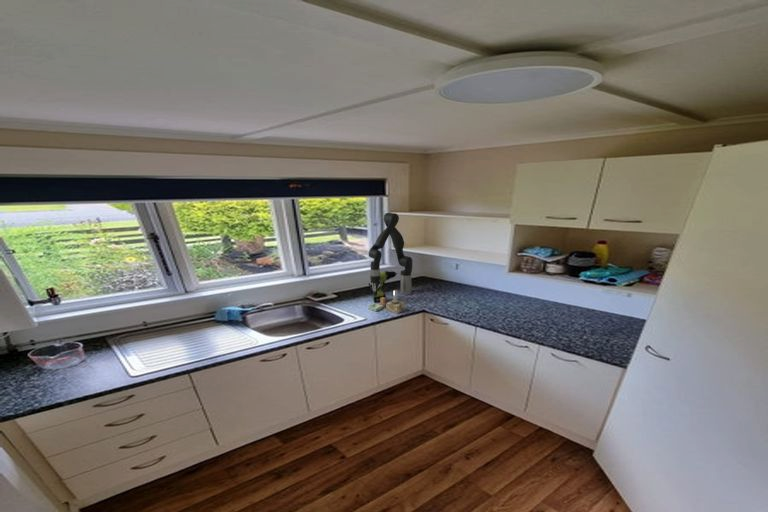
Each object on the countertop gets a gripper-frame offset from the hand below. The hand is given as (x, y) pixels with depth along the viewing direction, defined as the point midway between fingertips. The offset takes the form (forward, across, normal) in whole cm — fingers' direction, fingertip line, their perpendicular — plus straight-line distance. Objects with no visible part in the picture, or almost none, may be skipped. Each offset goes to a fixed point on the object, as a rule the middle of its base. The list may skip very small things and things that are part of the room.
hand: (375, 295), depth 244 cm
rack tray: (+8, -6, +7) cm, 12 cm away
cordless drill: (+8, -1, -11) cm, 14 cm away
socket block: (+8, -20, 0) cm, 21 cm away
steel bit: (+8, -20, 0) cm, 21 cm away
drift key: (+8, -8, 0) cm, 11 cm away
